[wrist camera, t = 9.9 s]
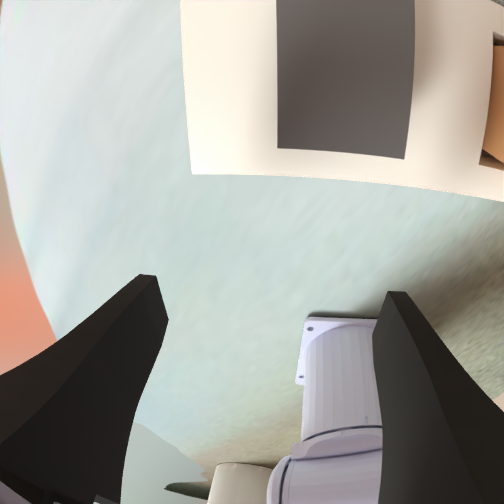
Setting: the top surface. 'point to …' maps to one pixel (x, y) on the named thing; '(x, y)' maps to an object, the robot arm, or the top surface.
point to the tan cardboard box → (496, 108)
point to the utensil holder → (239, 484)
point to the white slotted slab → (343, 90)
